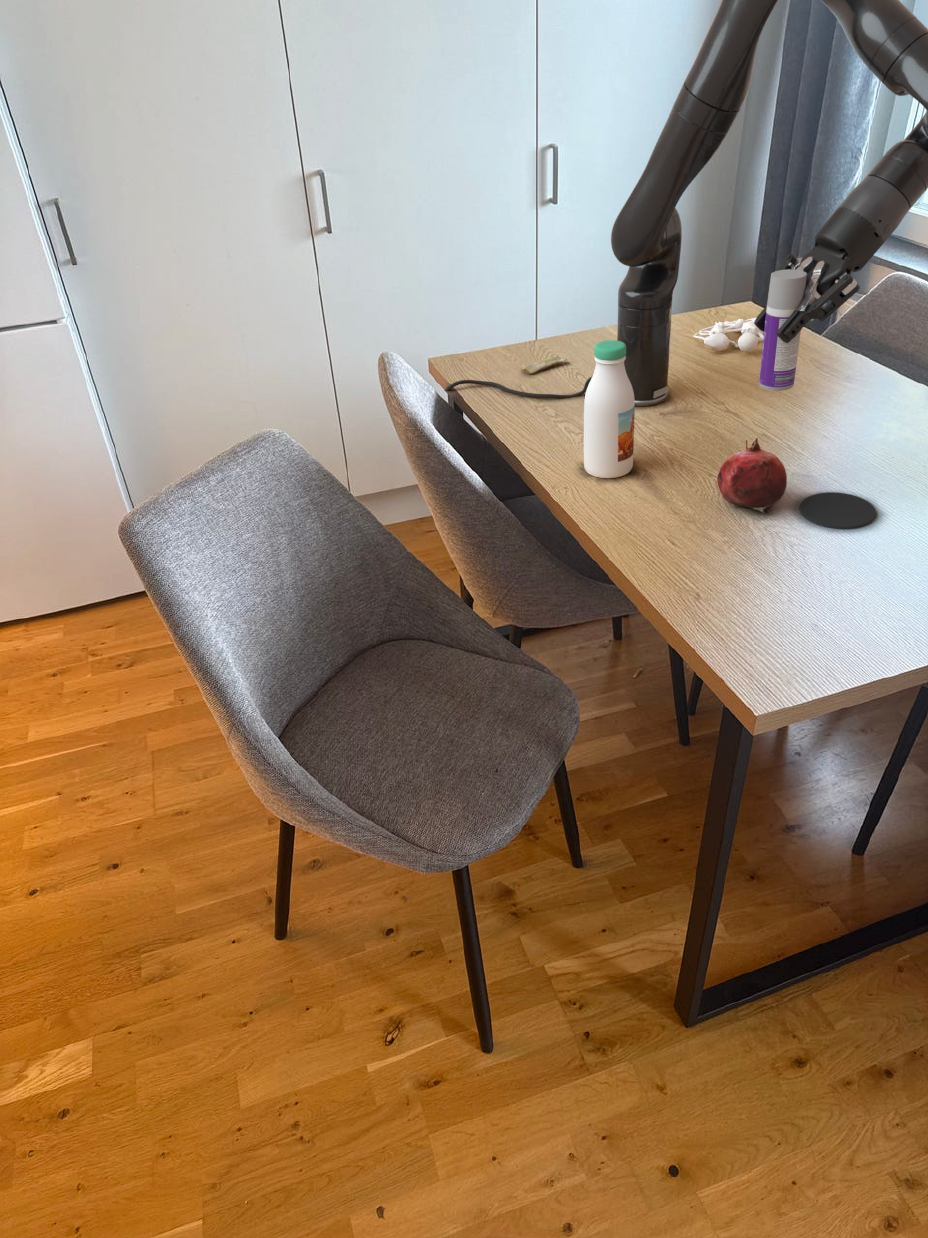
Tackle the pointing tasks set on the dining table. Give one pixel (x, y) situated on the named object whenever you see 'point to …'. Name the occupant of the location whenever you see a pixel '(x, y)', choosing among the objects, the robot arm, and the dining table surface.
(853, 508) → the coaster
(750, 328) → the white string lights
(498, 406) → the dining table surface
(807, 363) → the dining table surface
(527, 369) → the snack bar
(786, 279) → the container
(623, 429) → the milk bottle
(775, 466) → the fruit
